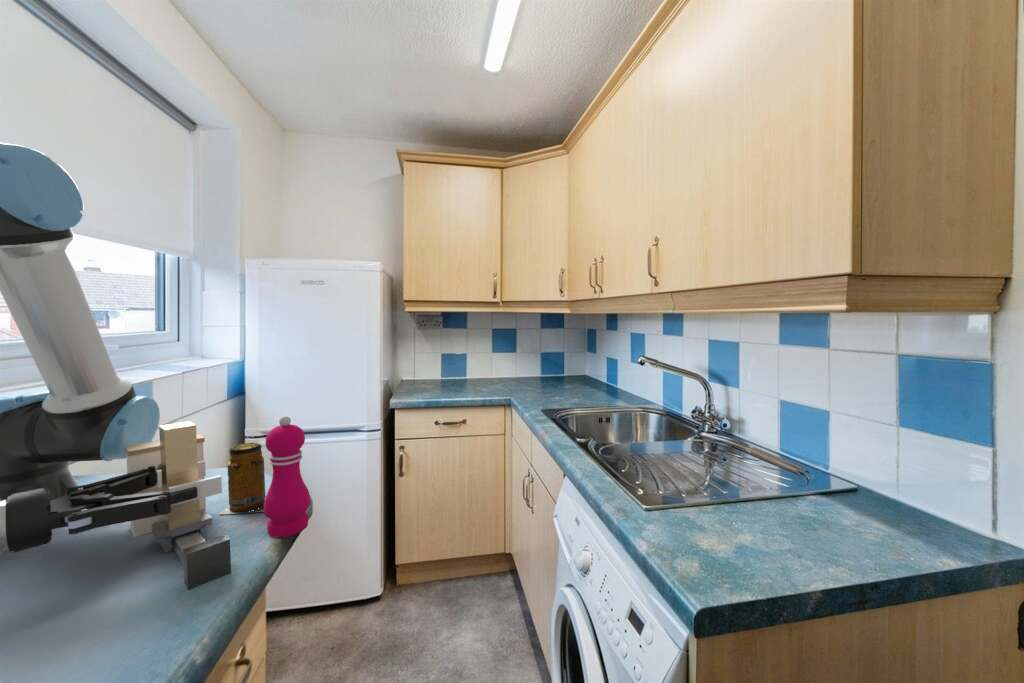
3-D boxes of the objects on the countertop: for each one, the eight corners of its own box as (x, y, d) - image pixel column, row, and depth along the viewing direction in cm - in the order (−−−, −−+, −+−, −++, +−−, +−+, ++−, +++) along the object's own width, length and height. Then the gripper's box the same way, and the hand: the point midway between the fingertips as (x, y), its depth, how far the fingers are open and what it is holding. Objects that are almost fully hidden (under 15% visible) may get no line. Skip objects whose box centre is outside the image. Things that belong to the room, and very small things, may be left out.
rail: (153, 531, 71) (152, 503, 71) (189, 520, 75) (188, 493, 74) (188, 590, 55) (186, 554, 55) (231, 572, 59) (229, 539, 59)
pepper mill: (320, 520, 74) (317, 412, 73) (290, 541, 67) (286, 422, 66) (286, 516, 76) (283, 410, 75) (254, 536, 69) (249, 420, 68)
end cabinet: (128, 529, 72) (124, 446, 71) (201, 508, 79) (198, 433, 79) (133, 538, 68) (128, 452, 68) (208, 515, 76) (204, 438, 76)
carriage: (152, 543, 66) (146, 427, 65) (204, 526, 72) (199, 418, 71) (158, 554, 63) (152, 432, 62) (212, 536, 69) (207, 423, 68)
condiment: (239, 498, 84) (237, 441, 83) (282, 496, 85) (281, 440, 84) (217, 515, 77) (215, 452, 76) (265, 513, 77) (263, 451, 77)
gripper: (12, 524, 61) (197, 480, 77) (0, 590, 46) (232, 518, 63) (9, 475, 60) (196, 441, 77) (-4, 525, 46) (231, 470, 62)
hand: (212, 475), depth 70 cm, fingers open, 10 cm apart
